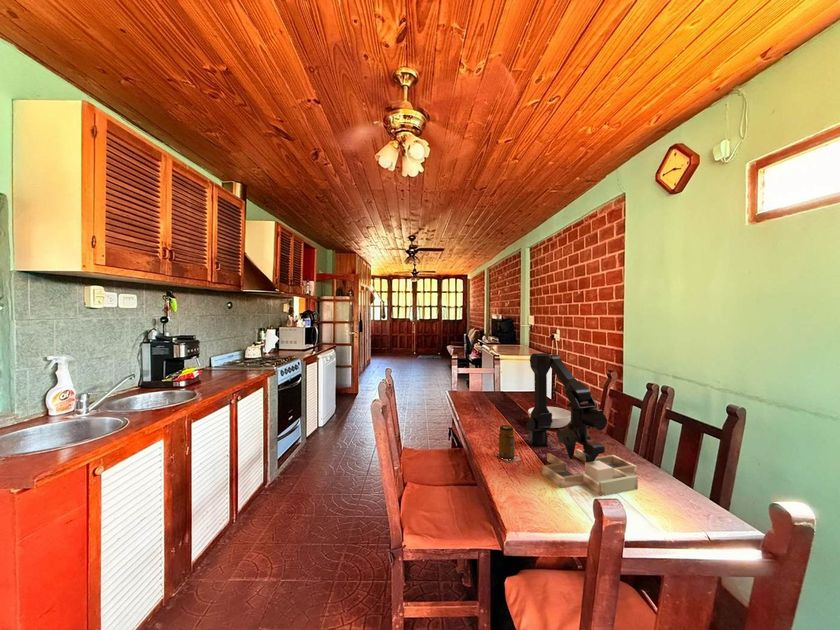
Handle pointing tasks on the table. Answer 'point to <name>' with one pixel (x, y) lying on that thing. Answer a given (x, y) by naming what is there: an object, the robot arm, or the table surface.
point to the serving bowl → (557, 416)
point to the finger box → (607, 486)
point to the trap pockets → (567, 479)
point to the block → (598, 471)
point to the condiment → (507, 444)
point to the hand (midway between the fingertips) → (579, 463)
